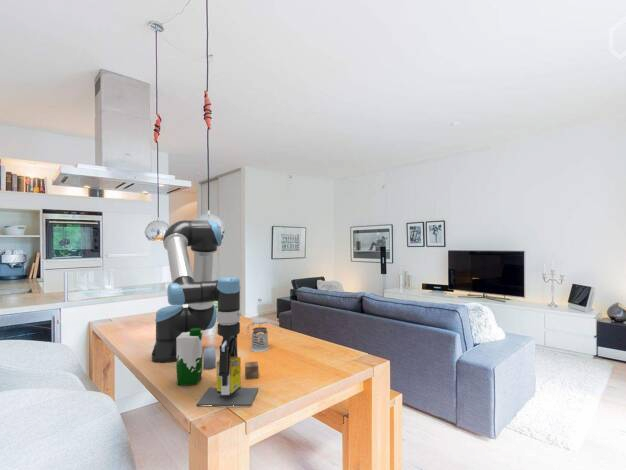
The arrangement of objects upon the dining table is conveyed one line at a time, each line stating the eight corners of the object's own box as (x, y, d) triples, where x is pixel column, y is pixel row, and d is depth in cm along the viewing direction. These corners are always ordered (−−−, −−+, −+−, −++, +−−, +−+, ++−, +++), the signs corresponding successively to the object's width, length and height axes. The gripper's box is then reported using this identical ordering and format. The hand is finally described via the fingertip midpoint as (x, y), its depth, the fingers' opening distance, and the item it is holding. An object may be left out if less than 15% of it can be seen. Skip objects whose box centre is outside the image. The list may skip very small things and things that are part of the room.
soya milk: (198, 385, 124) (198, 332, 124) (173, 386, 123) (173, 332, 124) (204, 376, 133) (204, 326, 133) (181, 377, 132) (181, 326, 132)
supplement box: (241, 388, 117) (241, 356, 117) (231, 395, 111) (231, 363, 111) (226, 385, 119) (226, 355, 119) (216, 393, 113) (216, 361, 113)
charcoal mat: (196, 406, 109) (196, 403, 109) (209, 389, 121) (209, 387, 121) (251, 406, 108) (251, 404, 108) (258, 390, 120) (258, 387, 120)
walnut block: (245, 379, 129) (245, 367, 130) (245, 374, 134) (245, 362, 134) (258, 378, 131) (258, 365, 131) (257, 373, 135) (257, 361, 136)
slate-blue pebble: (201, 369, 140) (201, 350, 140) (205, 365, 145) (205, 346, 145) (213, 369, 140) (213, 350, 140) (217, 365, 144) (217, 346, 145)
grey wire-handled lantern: (265, 352, 161) (265, 300, 161) (243, 350, 163) (243, 299, 163) (272, 346, 170) (272, 297, 171) (251, 344, 173) (250, 296, 173)
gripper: (231, 330, 105) (231, 403, 105) (246, 315, 125) (246, 377, 125) (208, 330, 105) (208, 403, 105) (226, 315, 125) (226, 377, 125)
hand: (228, 389), depth 115 cm, fingers closed on supplement box, 7 cm apart
